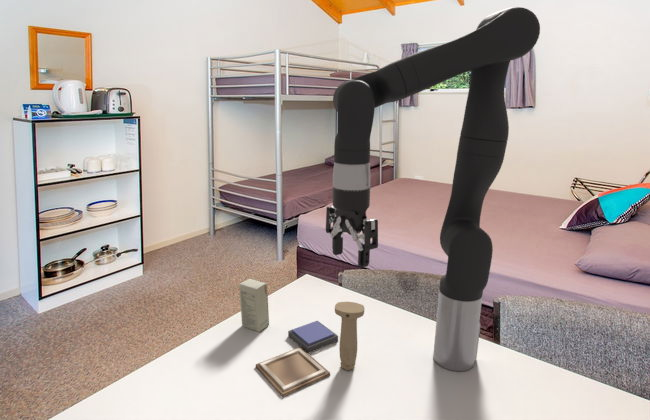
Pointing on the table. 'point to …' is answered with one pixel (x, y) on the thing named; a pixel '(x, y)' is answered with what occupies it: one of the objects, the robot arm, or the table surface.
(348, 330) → the handle
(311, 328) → the ink pad
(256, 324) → the skincare box
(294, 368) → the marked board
